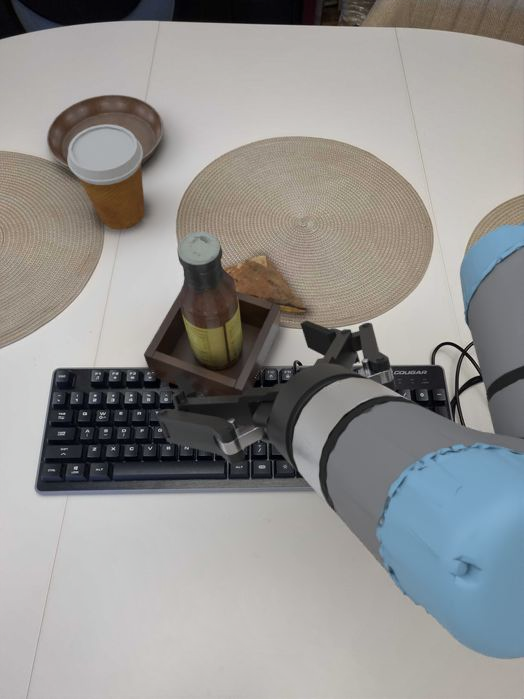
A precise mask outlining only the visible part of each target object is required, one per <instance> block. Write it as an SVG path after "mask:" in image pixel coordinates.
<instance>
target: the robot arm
mask: <svg viewBox="0 0 524 699" xmlns="http://www.w3.org/2000/svg"><path fill="white" fill-rule="evenodd" d="M459 279H460V287H461V288H460V289H461V295H462V302H463V309H464V311H463V315H464V322H465V324H466V326H467V328H468V329H469V332H470V336H471V339H472V343H473V346H474V350H475V355H476V359H477V362H478V365H479V370H480V374H481V378H482V381H483V387H484V390H485V395H486V401H487V407H488V412H489V415H490V420H491V424H492V428H493V433H492V432H486V431H481V430H478V429H474V428H471V427H468V426H465V425H462V424H460V423H457V422H455V421H453V420H451V419H449V418H447V417H444V416H442V415H440V414H438V413H436V412H434V411H432V410H430V409H428V408H426V407H424V406H422V405H420V404H419V403H417V402H415V401H413V400H411V399H410V398H407V397H405V396H403V395H402V394H400V393H398V392H396V391H395V390H396V388H397V385H396V382H395V381H396V380H395V377H394V374H393V369H392V366H391V362H390V358H389V356H387V355H386V354H384V353H382V352H381V351H380V348H379V345H378V341H377V337H376V333H375V330H374V326H373V323H372V322H364V323H362V324H360V325H359V326H358V330H357V331H352V329H350V328H349V329H348V328H345V329H342V330H341V329H338V328H336V327H331V328H329V327H326V326H322V325H320V324H317V323H315V322H312V321H310V320H304V321H301V322H300V323H299V324H300V327H301V330H302V333H303V337H304V339H305V343H306V346H307V348H308V349H310V350H312V351H314V352H316V353H318V354H320V355H322V356H323V357H320V358H319V357H318V358H317V359H316V361H315V362H314V364H313V365H310V366H308V367H305V368H303V369H301V370H300V371H298V372H297V373H295V374H294V375H293V376H291V377H290V378H289V379H288V380H287V381H286V382H285V383H275V384H274V385H273V386H271V387H255V388H254V387H253V388H251V389H248V390H247V391H246V392H245V393H244V394H243V395H230V396H211V397H207V396H197V392H195V391H194V389H193V388H192V387H191V385H190V384H189V383H188V381H187V380H186V379H185V377H184V376H183V374H182V373H179V374H177V375H174V377H175V380H176V382H177V385H176V386H177V387H178V391H175V392H174V393H172V396H171V398H170V399H171V401H172V403H173V406H174V409H171V408H165V409H161V410H160V411H158V412H157V413H156V414H155V416H156V419H157V421H158V423H159V426H160V428H161V431H162V433H163V436H164V438H165V440H166V442H167V443H171V444H175V445H178V446H182V447H187V448H190V449H194V450H198V451H203V452H207V453H209V454H210V453H211V454H214V455H215V454H216V455H219V456H221V457H222V458H223V459H224V460H225V461H226V462H228V464H230V465H237V464H239V463H241V462H243V461H244V460H245V459H246V455H245V453H244V450H245V449H246V448H247V447H248V446H250V445H252V444H255V443H256V442H258V441H261V442H263V443H268V444H272V445H273V446H274V447H275V448H276V450H277V451H278V452H279V454H281V456H282V457H283V458H284V459H285V460H286V461H287V462H288V464H290V466H292V468H293V469H294V470H295V471H296V472H297V473H298V474H299V475H300V477H302V478H303V479H304V480H305V481H306V482H307V484H308V485H309V486H310V487H311V488H312V489H313V490H314V491H315V492H316V494H317V495H318V496H319V497H320V498H321V500H323V501H324V502H325V504H326V505H327V506H328V507H329V508H330V509H331V510H333V511H334V512H335V514H336V515H337V516H338V517H339V519H340V520H341V521H342V522H343V523H344V525H345V526H346V527H347V528H348V529H349V530H350V531H351V532H352V533H353V535H354V536H355V537H356V538H357V539H358V540H359V541H360V543H361V544H362V545H363V546H364V547H365V548H366V550H368V551H369V553H370V554H371V555H372V556H373V557H374V558H375V560H376V561H377V562H378V563H379V564H380V565H381V566H382V567H383V569H384V570H385V571H386V572H387V573H388V575H389V576H390V578H391V579H392V582H393V583H394V585H395V586H396V587H397V588H398V589H399V590H400V591H401V593H402V594H403V595H404V596H407V597H408V598H409V599H410V600H411V602H412V603H413V604H414V605H415V606H421V607H422V608H423V610H424V611H425V612H426V613H427V614H428V615H430V616H431V617H432V618H433V619H434V620H435V621H436V622H438V624H439V625H440V626H441V627H442V628H443V629H445V631H447V633H448V634H450V636H451V637H453V639H454V640H456V641H457V642H458V643H460V644H461V645H462V646H464V647H465V648H467V649H468V650H470V651H472V652H475V653H477V654H480V655H483V656H486V657H487V658H492V659H493V658H494V659H499V660H513V659H521V658H522V659H523V658H524V221H522V222H521V223H520V224H515V225H511V224H509V223H505V224H503V225H500V226H498V227H496V228H494V229H492V230H491V231H489V232H487V233H485V234H484V235H482V236H481V237H480V238H479V239H477V241H476V242H474V243H473V244H472V245H471V246H470V247H469V249H468V250H467V251H466V253H465V255H464V257H463V258H462V261H461V264H460V268H459ZM360 351H361V352H362V356H363V359H361V361H360V357H359V353H358V352H360ZM357 363H358V364H360V363H361V366H362V367H361V368H360V369H359V373H358V372H356V371H355V370H353V367H354V364H357Z"/></svg>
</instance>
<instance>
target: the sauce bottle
mask: <svg viewBox="0 0 524 699" xmlns="http://www.w3.org/2000/svg"><path fill="white" fill-rule="evenodd" d="M176 250H177V257H178V262H179V263H180V265H181V267H182V269H183V284H182V286H181V289H180V291H181V292H180V291H179V293H180V308H181V311H182V315H183V319H184V323H185V327H186V330H187V334H188V337H189V340H190V344H191V347H192V351H193V353H194V355H195V357H196V359H197V360H198V361H199V362H200V363H201V364H202V365H204V366H205V367H208V368H209V369H212V370H220V369H225V368H229V367H231V366H232V365H234V364H235V363H236V362H237V361H238V359H239V357H240V355H241V353H242V350H243V347H242V346H243V337H242V328H241V320H240V310H239V301H238V296H237V293H236V286H235V283H234V279H233V277H232V276H230V275H229V274H228V273H227V272H226V271H225V268H224V267H223V265H222V258H223V249H222V245H221V241H220V240H219V238H218V237H217V236H215V235H214V234H213V233H211V232H208V231H193V232H192V231H191V232H190V233H187V234H186V235H184V236H183V237H182V238H181V240H180V241H179V242H178V245H177V249H176Z"/></svg>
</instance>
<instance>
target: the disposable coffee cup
mask: <svg viewBox="0 0 524 699" xmlns="http://www.w3.org/2000/svg"><path fill="white" fill-rule="evenodd" d="M142 157H143V150H142V146H141V144H140V143H139V141H138V140H137V139H136V138H135V136H134V135H133V134H132V133H131V132H130V131H129V130H127V129H125V128H123V127H120V126H117V125H98V126H93V127H90V128H88V129H85V130H83V131H82V132H80V133H79V134H77V135H76V136H75V137H74V138H73V139H72V141H71V142H70V145H69V148H68V158H67V161H68V165H69V168H68V169H69V170H70V171H71V172H72V173H73V174H74V175H75V176H76V177H77V179H78V180H79V182H80V183H81V186H82V187H83V189H84V192H86V194H87V196H88V198H89V200H90V202H91V204H92V206H93V207H94V209H95V211H96V213H97V215H98V217H99V218H100V220H101V222H102V224H103V225H105V226H106V227H108V228H111V229H114V230H125V229H130V228H132V227H135V226H136V225H138V224H139V223H140V222H141V221H142V220H143V218H144V216H145V199H144V198H145V197H144V187H143V186H144V185H143V172H142V164H141V161H142Z"/></svg>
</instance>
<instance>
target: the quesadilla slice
mask: <svg viewBox="0 0 524 699" xmlns="http://www.w3.org/2000/svg"><path fill="white" fill-rule="evenodd" d="M224 270H225V271H226V272H227V273H228V274H229V275H230V276H232V277H233V279H234V283H235V286H236V291H238V292H241V293H244V294H247V295H250V296H253V297H256V298H259V299H262V300H265V301H268V302H271V303H273V304H277V305H280V306H281V311H282V312H287V313H297V314H298V313H299V314H300V313H301V314H302V313H305V312H308V309H307V308H306V306H305V305H304V304H303V302H302V301H301V300H300V299H299V298H298V297H297V295H296V294H295V293H294V291H293V289H292V288H291V286H290V285H289V283H288V281H287V280H286V279H285V278H284V276H283V274H282V273H281V272H280V271H279V270H278V268H277V267H276V265H274V263H272V262H271V261H270V259H268V257H267V256H266V255H264V254H263V255H257V256H253V257H251V258H248V259H245V260H243V261H241V262H239V263H236V264H235V265H232V266H229V267H226V268H224Z"/></svg>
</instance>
